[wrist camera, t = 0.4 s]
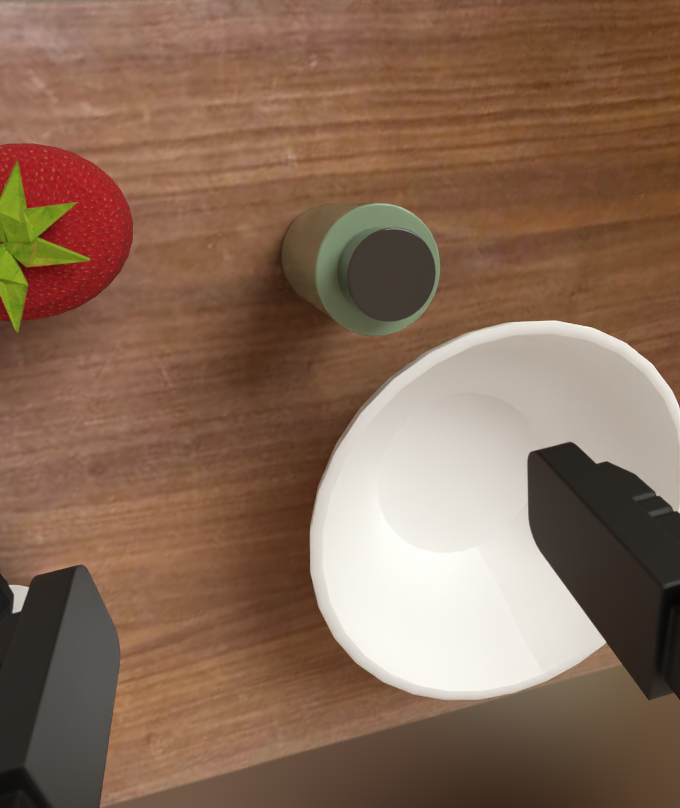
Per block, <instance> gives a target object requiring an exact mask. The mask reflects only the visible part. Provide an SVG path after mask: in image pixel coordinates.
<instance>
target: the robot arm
mask: <svg viewBox="0 0 680 808" xmlns="http://www.w3.org/2000/svg"><path fill="white" fill-rule="evenodd" d="M527 479H528V520H529V526H530V530H531V533H532V536H533V539H534V541H535V543H536V545H537V547H538V549H539V551H540V552H541V554H542V555H543V556H544V558H545V559H546V560H547V562H548V563H549V564H550V566H551V567H552V569H553V570H554V571H555V573H556V574H557V575H558V577H559V578H560V580H561V581H562V582H563V584H564V585H565V586H566V588H567V589H568V590H569V592H570V593H571V595H572V596H573V597H574V599H575V600H576V601H577V603H578V604H579V605H580V607H581V608H582V610H583V611H584V612H585V614H586V615H587V616H588V618H589V619H590V621H591V622H592V623H593V625H594V626H595V627H596V629H597V630H598V631H599V633H600V634H601V636H602V637H603V638H604V640H605V641H606V642H607V644H608V645H609V646H610V648H611V649H612V651H613V652H614V653H615V655H616V656H617V657H618V659H619V660H620V662H621V663H622V664H623V666H624V667H625V668H626V670H627V671H628V672H629V674H630V675H631V676H632V678H633V679H634V681H635V682H636V683H637V685H638V686H639V687H640V689H641V690H642V691H643V693H644V694H645V696H646V697H647V698H648V700H651V699H654V698H658V697H661V696H665V695H668V694H671V693H675V694H676V695H677V697H678V698H679V699H680V513H679V512H677V511H675V512H674V511H673V509H672V506H671V505H670V504H668V503H667V502H666V501H665V500H664V499H663V498H662V497H660V496H656V493H655V491H654V490H653V489H651V488H650V487H649V486H648V485H647V484H646V483H645V482H644V481H642V480H641V479H640V478H639V477H638V476H637V475H636V474H634V473H632V472H630V471H628V470H625V469H623V468H621V467H619V466H617V465H614V464H612V463H610V462H608V461H605V462H601V463H598V464H596V463H595V462H594V461H593V460H592V459H591V458H590V457H589V456H588V455H587V454H586V453H585V452H584V451H582V450H581V449H580V448H579V447H578V446H577V445H576V444H575V443H573V442H566V443H562V444H559V445H555V446H551V447H547V448H543V449H539V450H535V451H531V452H530V453H529V455H528V459H527ZM119 666H120V646H119V639H118V635H117V631H116V628H115V626H114V623H113V621H112V619H111V617H110V615H109V613H108V611H107V609H106V607H105V604H104V602H103V600H102V598H101V596H100V594H99V592H98V590H97V588H96V585H95V583H94V581H93V579H92V577H91V575H90V573H89V571H88V570H87V568H86V567H85V566H83V565H77V566H73V567H69V568H65V569H61V570H57V571H53V572H49V573H45V574H41V575H37V576H35V577H34V578H33V580H32V581H31V584H30V586H29V589H28V592H27V595H26V598H25V601H24V604H23V607H22V609H21V611H20V612H16V613H12V614H8V615H6V616H5V618H4V619H3V620H2V621H1V623H0V808H99V806H100V799H101V792H102V785H103V778H104V771H105V764H106V757H107V750H108V743H109V736H110V729H111V722H112V715H113V708H114V701H115V694H116V687H117V680H118V673H119Z"/></svg>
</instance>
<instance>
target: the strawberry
mask: <svg viewBox="0 0 680 808" xmlns="http://www.w3.org/2000/svg"><path fill="white" fill-rule="evenodd" d="M132 240H133V221H132V217H131V213H130V209H129V205H128V203H127V201H126V199H125V197H124V195H123V194H122V192H121V190H120V189H119V187H118V186H117V185H116V184H115V183H114V181H113V180H112V179H111V178H110V177H109V175H107V174H106V173H105V172H104V171H102V170H101V169H100V168H99V167H97V166H96V165H95V164H94V163H92V162H90V161H88V160H86V159H84V158H82V157H80V156H78V155H77V154H74V153H71V152H68V151H65V150H62V149H59V148H56V147H51V146H45V145H38V144H5V145H0V320H5V321H12V324H13V326H14V328H15V330H16V333H17V332H19V328H20V323H21V320H31V319H40V318H45V317H50V316H54V315H59V314H61V313H64V312H66V311H69V310H72V309H74V308H77V307H79V306H81V305H82V304H84V303H86V302H87V301H89V300H91V299H93V298H94V297H96V296H97V295H98V294H99V293H100V292H102V291H103V290H104V289H105V288H106V287H107V286H109V285H110V283H111V282H112V281H113V280H114V278H115V277H116V276H117V275H118V274H119V272H120V271H121V269H122V267H123V265H124V263H125V261H126V259H127V257H128V255H129V251H130V247H131V244H132Z"/></svg>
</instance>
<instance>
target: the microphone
mask: <svg viewBox="0 0 680 808" xmlns="http://www.w3.org/2000/svg"><path fill="white" fill-rule="evenodd" d="M13 605H14V594H13V592H12V590H11V588H10V587H9V585H8V583H7V581H6V580H5V579H4V578H3V577H2V575H1V574H0V623H1V621H2V620H3V619H4V618H5V616H6V615H8V614H12V612H13Z"/></svg>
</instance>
